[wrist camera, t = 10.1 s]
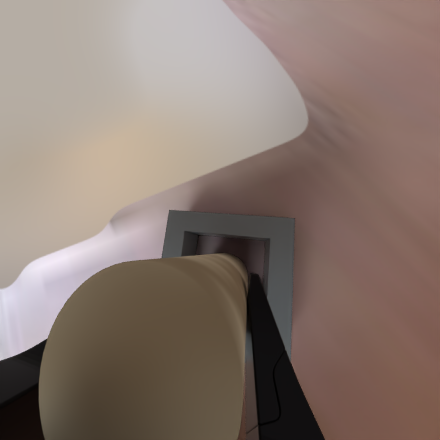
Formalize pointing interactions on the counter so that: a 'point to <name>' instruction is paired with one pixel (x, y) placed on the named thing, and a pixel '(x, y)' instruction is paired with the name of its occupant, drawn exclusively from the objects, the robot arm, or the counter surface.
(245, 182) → the counter surface
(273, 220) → the frame
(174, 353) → the birch peg
